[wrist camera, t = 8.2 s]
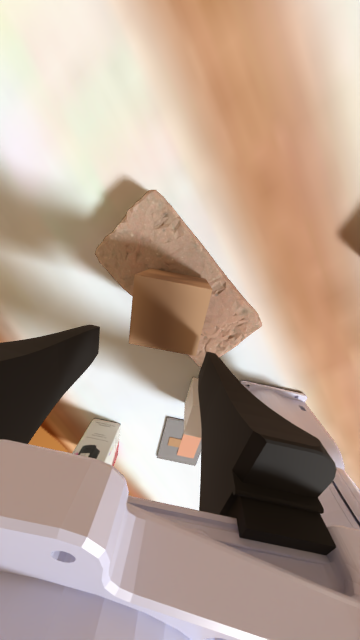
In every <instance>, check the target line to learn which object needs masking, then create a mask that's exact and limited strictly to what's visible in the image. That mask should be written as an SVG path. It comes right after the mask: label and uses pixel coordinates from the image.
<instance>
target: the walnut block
mask: <svg viewBox="0 0 360 640" xmlns="http://www.w3.org/2000/svg"><path fill="white" fill-rule="evenodd" d="M211 294H212V288H211V286H210V285H209V283H208V281H207V280H206V279H204V278H199V277H194V276H189V275H183V274H178V273H173V272H168V271H163V270H158V269H153V268H151V269H148V270H145V271H143V272H140V273H138V274H135V276H134V288H133V300H132V312H131V323H130V335H129V344H135V345H140V346H145V347H150V348H156V349H161V350H166V351H172V352H177V353H182V354H187V355H193V356H196V353H197V349H198V345H199V341H200V337H201V333H202V329H203V325H204V321H205V317H206V313H207V309H208V305H209V301H210V297H211Z"/></svg>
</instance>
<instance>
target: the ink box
mask: <svg viewBox="0 0 360 640" xmlns="http://www.w3.org/2000/svg"><path fill="white" fill-rule="evenodd" d="M120 427H121V424H118V423H114V422H110V421H105V420H100V419H93V420H92V421H91V423H90V425H89V426H88V428H87V430H86V431H85V433H84V435H83V436H82V438H81V440H80V441H79V443H78V445H77V446H76V448H75V450H74V451H73V453H72V454H76V455H80V456H85V457H90V458H95V459H97V460H100V461H102V462H105V463H107V464H110V465H112V466H114V463H115V460H116V458H117V455H118V446H119V436H120Z"/></svg>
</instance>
